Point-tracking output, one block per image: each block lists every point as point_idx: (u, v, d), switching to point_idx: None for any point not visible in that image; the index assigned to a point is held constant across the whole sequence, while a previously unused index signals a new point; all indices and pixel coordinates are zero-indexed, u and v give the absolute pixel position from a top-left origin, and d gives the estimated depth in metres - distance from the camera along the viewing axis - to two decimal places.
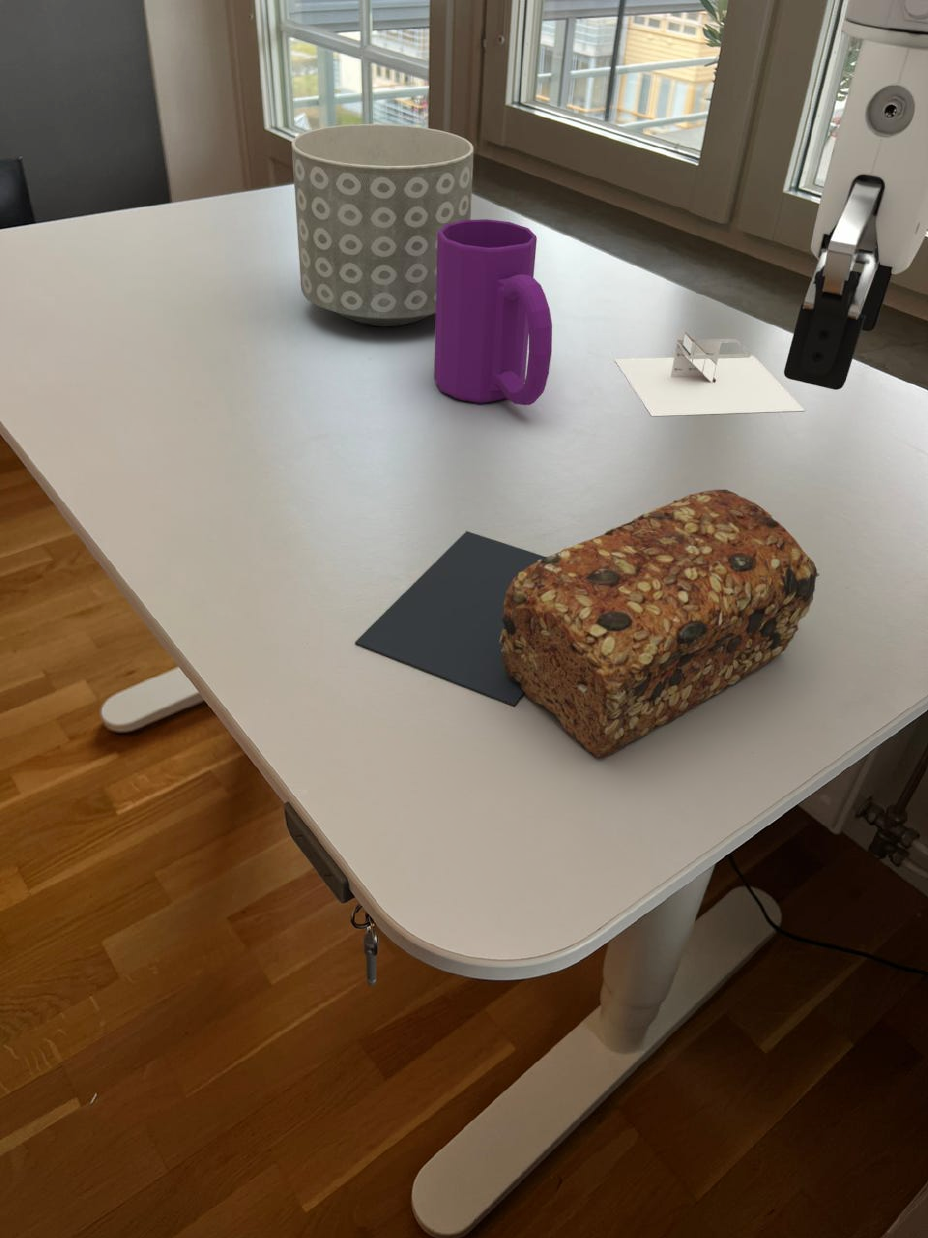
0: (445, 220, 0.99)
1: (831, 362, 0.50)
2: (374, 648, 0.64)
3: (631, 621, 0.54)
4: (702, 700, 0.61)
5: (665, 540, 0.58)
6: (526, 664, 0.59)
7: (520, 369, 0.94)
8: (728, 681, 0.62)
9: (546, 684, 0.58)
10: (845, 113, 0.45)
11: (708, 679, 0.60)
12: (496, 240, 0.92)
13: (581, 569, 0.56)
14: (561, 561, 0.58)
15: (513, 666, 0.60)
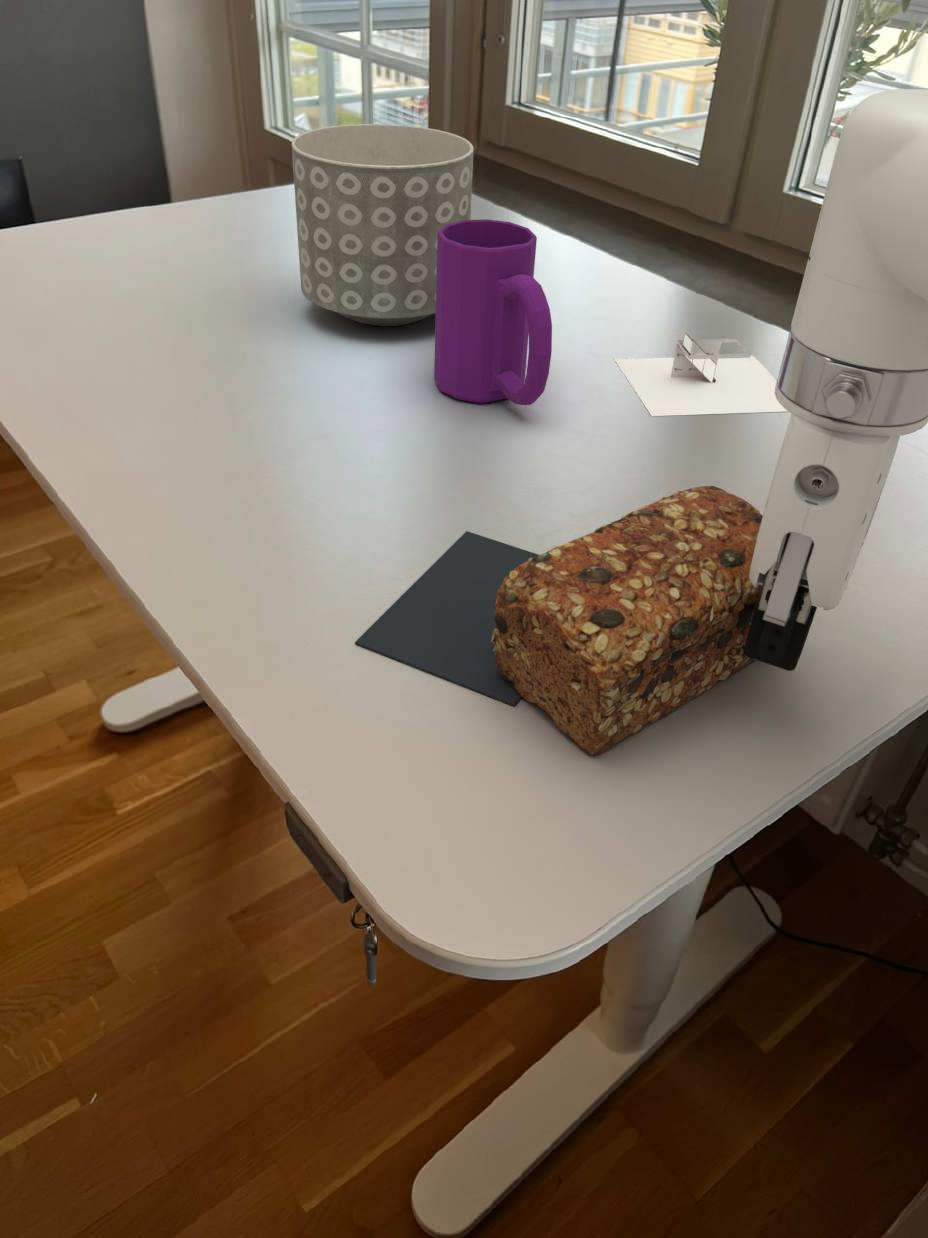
0: (445, 220, 0.99)
1: (783, 653, 0.57)
2: (374, 648, 0.64)
3: (623, 618, 0.54)
4: (694, 696, 0.61)
5: (655, 537, 0.58)
6: (518, 663, 0.59)
7: (520, 369, 0.94)
8: (719, 676, 0.62)
9: (539, 682, 0.58)
10: (776, 477, 0.48)
11: (699, 675, 0.60)
12: (496, 240, 0.92)
13: (572, 567, 0.56)
14: (552, 559, 0.58)
15: (505, 664, 0.60)
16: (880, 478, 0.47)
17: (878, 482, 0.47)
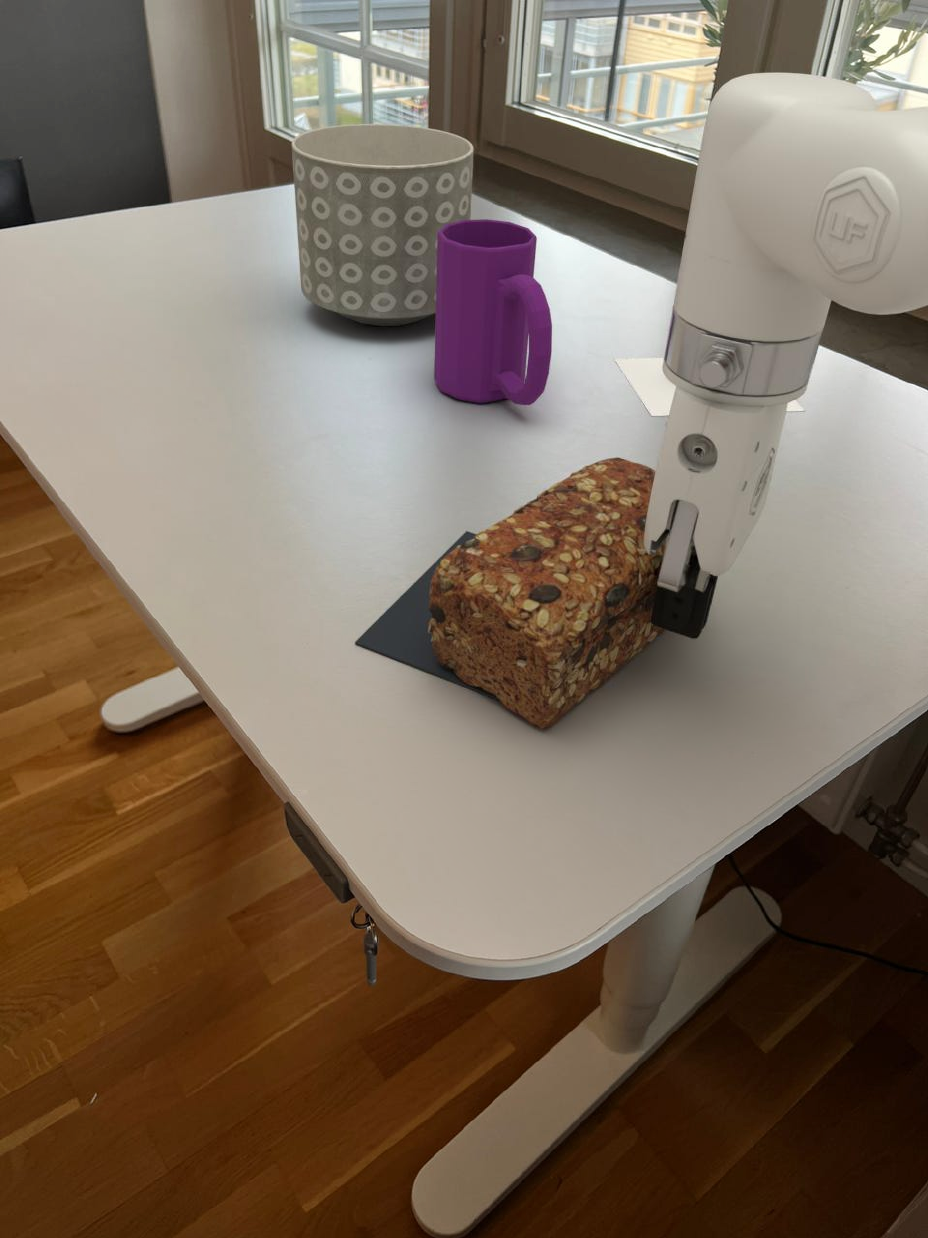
0: (445, 220, 0.99)
1: (685, 620, 0.59)
2: (374, 648, 0.64)
3: (560, 591, 0.55)
4: (627, 660, 0.63)
5: (575, 511, 0.60)
6: (459, 649, 0.60)
7: (520, 369, 0.94)
8: (648, 638, 0.64)
9: (482, 666, 0.59)
10: (662, 447, 0.50)
11: (631, 639, 0.62)
12: (496, 240, 0.92)
13: (502, 549, 0.58)
14: (481, 543, 0.59)
15: (445, 653, 0.61)
16: (758, 447, 0.49)
17: (756, 450, 0.49)
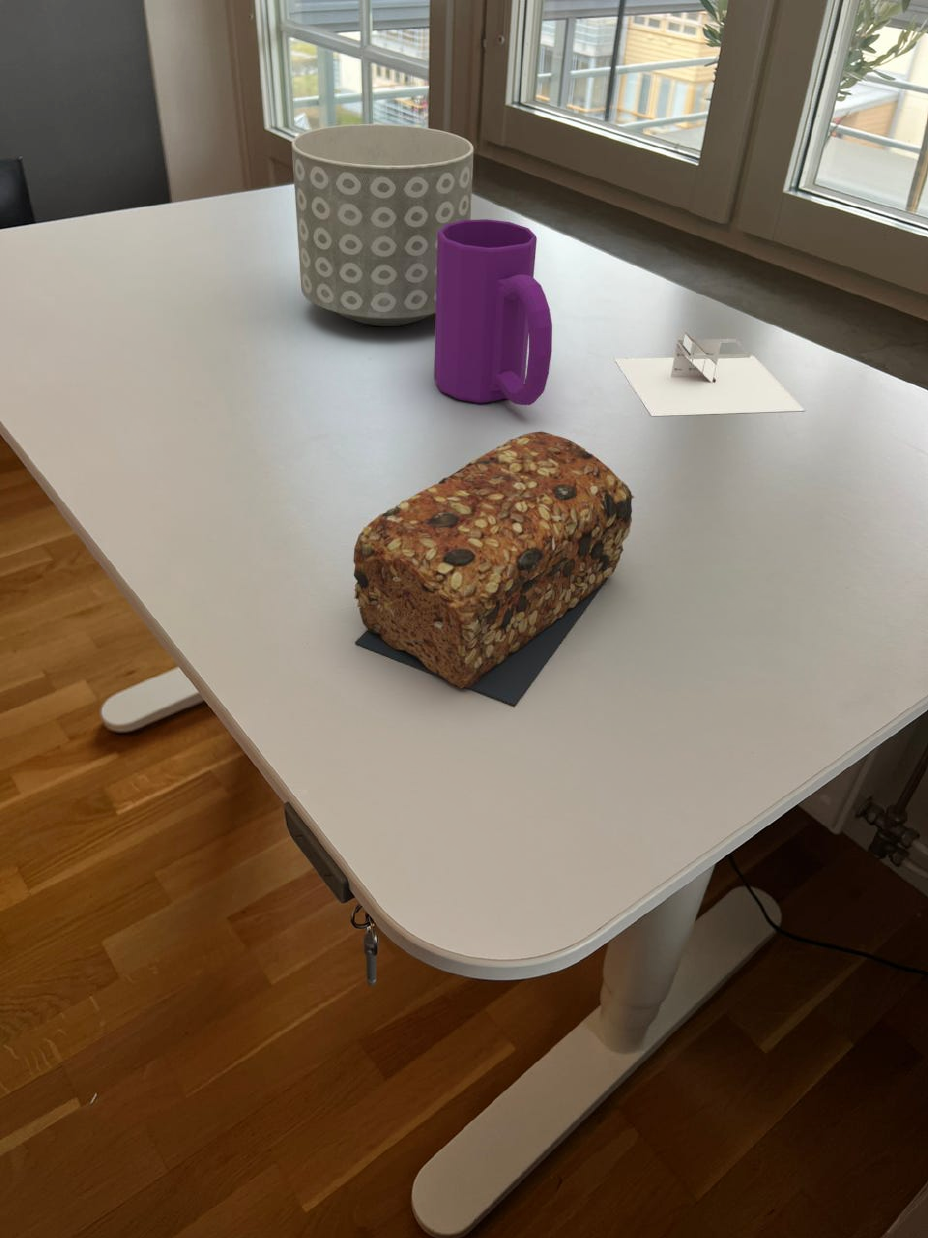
0: (445, 220, 0.99)
1: None
2: (374, 648, 0.64)
3: (473, 555, 0.58)
4: (548, 624, 0.66)
5: (494, 481, 0.63)
6: (383, 613, 0.62)
7: (520, 369, 0.94)
8: (569, 604, 0.67)
9: (404, 629, 0.62)
10: None
11: (550, 604, 0.65)
12: (496, 240, 0.92)
13: (421, 516, 0.60)
14: (402, 511, 0.61)
15: (370, 618, 0.64)
16: None
17: None
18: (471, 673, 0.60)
